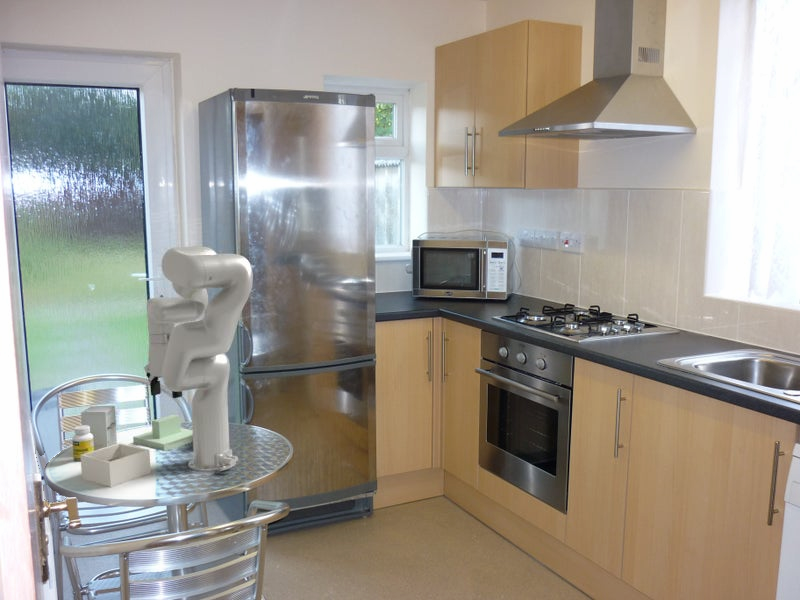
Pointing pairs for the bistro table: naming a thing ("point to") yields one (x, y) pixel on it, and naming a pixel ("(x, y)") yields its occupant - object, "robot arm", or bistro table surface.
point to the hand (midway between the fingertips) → (166, 396)
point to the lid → (165, 434)
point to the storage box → (115, 464)
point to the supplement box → (101, 425)
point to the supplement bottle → (82, 442)
